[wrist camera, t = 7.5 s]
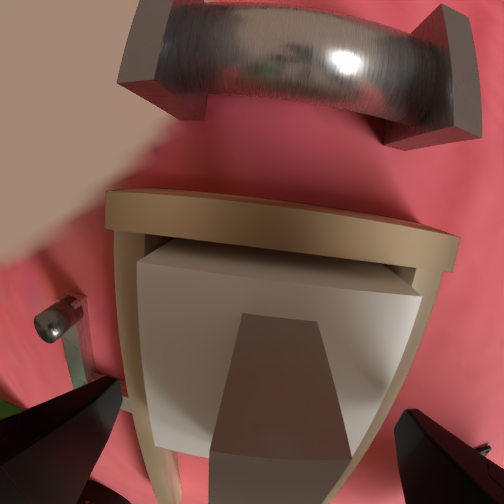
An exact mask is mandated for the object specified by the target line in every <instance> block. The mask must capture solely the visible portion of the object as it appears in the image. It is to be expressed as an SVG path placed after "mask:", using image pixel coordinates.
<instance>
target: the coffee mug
mask: <svg viewBox="0 0 504 504" xmlns="http://www.w3.org/2000/svg"><path fill="white" fill-rule="evenodd" d="M76 504H131V503H130V502H129V501H128V500H127V499H125V498H124V497H122V496H121V495H119V494H118V493H116V492H114V491H113V490H111V489H109V488H107V487H105V486H103V485H101V484H98V483H96V482H93V481H90V480H87V482H86V484H85V486H84V488H83V490H82V492H81V494H80V496H79V498H78V500H77V502H76Z"/></svg>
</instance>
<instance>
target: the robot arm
mask: <svg viewBox="0 0 504 504" xmlns="http://www.w3.org/2000/svg"><path fill="white" fill-rule="evenodd" d="M122 401H123V396H122V391H121V386H120V381H119V379H118V378H116V377H112V376H109V375H105V376H103V377H101V378H99V379H96V380H94V381H92V382H90V383H88V384H85V385H83V386H81V387H78V388H76V389H74V390H72V391H69V392H67V393H65V394H62V395H60V396H58V397H55V398H53V399H51V400H48V401H46V402H43V403H41V404H39V405H36V406H34V407H31V408H29V409H26V410H24V411H21V413H19V412H18V413H16V414H13V415H11V416H8V417H5V418H2V419H0V504H76V502H77V500H78V498H79V496H80V494H81V492H82V490H83V488H84V486H85V484H86V482H87V480H88V478H89V476H90V474H91V472H92V470H93V468H94V466H95V464H96V462H97V460H98V458H99V456H100V455H101V453H102V451H103V449H104V447H105V445H106V443H107V441H108V439H109V436H110V434H111V431H112V428H113V426H114V423H115V420H116V418H117V415H118V412H119V410H120V407H121V405H122ZM394 435H395V442H396V451H397V460H398V468H399V473H400V478H401V483H402V487H403V492H404V497H405V503H406V504H504V469H503V468H501V467H500V466H498V465H497V464H495V463H494V462H492V461H491V460H489V459H487V458H486V457H485V456H486V455H487V454H488V453H489V452H490V450H491V447H490V445H489V446H486V447H483V448H481V449H478V450H474V449H473V448H472V447H470V446H469V445H467V444H466V443H464V442H463V441H461V440H460V439H459V438H457V437H456V436H454V435H453V434H452V433H450V432H449V431H447V430H446V429H445V428H443V427H442V426H440V425H439V424H437V423H436V422H435V421H433V420H432V419H431V418H429V417H428V416H426V415H425V414H424V413H422V412H421V411H419V410H418V409H415V408H414V409H406V410H405V411H404V412H403V413H402V415H401V417H400V419H399V420H398V422H397V424H396V426H395V429H394Z"/></svg>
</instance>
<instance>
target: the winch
mask: <svg viewBox="0 0 504 504" xmlns="http://www.w3.org/2000/svg"><path fill="white" fill-rule="evenodd" d="M117 83H118V84H119V85H121V86H123V87H125V88H126V89H128V90H130V91H132V92H133V93H136V94H137V95H139V96H140V97H142V98H144V99H146V100H147V101H149V102H151V103H152V104H154V105H156V106H157V107H159V108H161V109H162V110H164V111H166V112H167V113H169V114H171V115H172V116H174V117H176V118H177V119H179V120H203V121H204V118H205V110H206V103H207V96H208V94H219V95H239V96H253V97H264V98H274V99H283V100H291V101H298V102H305V103H312V104H318V105H323V106H329V107H334V108H340V109H344V110H349V111H354V112H358V113H363V114H367V115H371V116H375V117H379V118H383V119H385V130H384V143H383V145H384V146H388V147H392V148H396V149H400V150H404V151H407V150H413V149H418V148H423V147H429V146H434V145H440V144H446V143H452V142H458V141H465V140H472V139H479V138H482V108H481V92H480V81H479V73H478V65H477V58H476V52H475V46H474V41H473V36H472V31H471V26H470V22H469V18H468V17H466V16H465V15H463V14H461V13H459V12H457V11H455V10H453V9H451V8H449V7H447V6H445V5H443V4H440V5H439V6H438V7H437V8H436V9H435V10H434V11H433V12H432V13H431V14H430V15H429V16H428V17H427V18H426V19H425V20H424V21H423V22H422V23H421V24H420V25H419V26H418V27H417V28H416V29H415V30H414V31H413V32H412V33H411V34H410V33H407V32H404V31H401V30H399V29H396V28H393V27H390V26H386V25H383V24H380V23H377V22H373V21H370V20H366V19H362V18H358V17H354V16H350V15H346V14H341V13H336V12H331V11H326V10H320V9H314V8H308V7H301V6H293V5H284V4H272V3H256V2H209V3H204V0H140V1H139V4H138V7H137V10H136V13H135V16H134V19H133V22H132V25H131V29H130V32H129V36H128V39H127V43H126V46H125V51H124V54H123V58H122V62H121V66H120V71H119V76H118V80H117Z"/></svg>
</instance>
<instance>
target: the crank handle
mask: <svg viewBox="0 0 504 504" xmlns="http://www.w3.org/2000/svg"><path fill="white" fill-rule="evenodd" d="M56 300H57V302H56V303H55V304H53V305H52V306H50V307H49V308H47V309H46V310H44V311H43V312H41V313H39V314H38V315H36V316H35V318H34V325H35V329H36V331H37V333H38V334H39V336H40V337H41V338H42V339H43V340H44V341H45V342H47V343H53V342H55V341H56V340H57V339H58V338H60V337H61V336H62V340H63V345H64V350H65V355H66V360H67V364H68V368H69V373H70V377H71V380H72V384H73V388H74V389H76V388H78V387H81V386H83V385H85V384H88V383H90V382H92V381H94V380H96V379H99V378H101V377H103V376H105V375H104V374H102V373H99V372H96V367H95V361H94V355H93V348H92V341H91V334H90V325H89V316H88V305H87V296H84V295H80V294H77V293H74V292H70V291H69V292H67V293H66V294H64V295H62V296H61V297H59V298H57V299H56ZM119 381H120V386H121V391H122V396H123V401H122V405H121V407H120V409H121V410H124V411H127V412H130V413H132V411H131V407H130V402H129V397H128V391H127V386H126V382H124V381H121V380H119Z"/></svg>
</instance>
